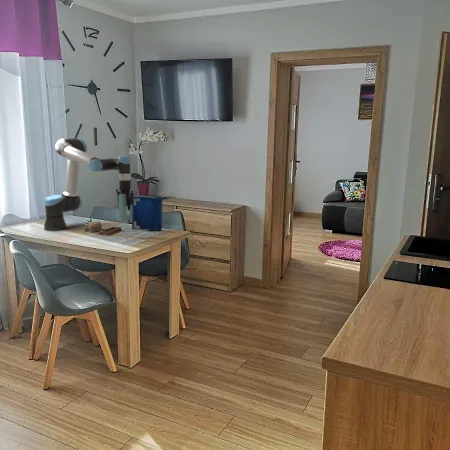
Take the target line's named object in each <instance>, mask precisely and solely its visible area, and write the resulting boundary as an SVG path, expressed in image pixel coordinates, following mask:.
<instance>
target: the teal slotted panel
mask: <svg viewBox="0 0 450 450" xmlns="http://www.w3.org/2000/svg"><path fill="white" fill-rule="evenodd" d="M129 196H130V195H129ZM126 205H127V200H126V194H119V203H118V218H119V219H118V221H119V222H122V223H124V222H127V221H129V220H132V219H133V218H132V205H130V210H129V212H130V215H126Z"/></svg>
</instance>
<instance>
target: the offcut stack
mask: <svg viewBox="0 0 450 450" xmlns="http://www.w3.org/2000/svg"><path fill="white" fill-rule="evenodd" d="M101 230H104V228H103V227H102V222H101V221H94V222H89V223H85V224H84V230H83V232H84V233H94V232H98V231H101Z"/></svg>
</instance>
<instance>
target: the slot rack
mask: <svg viewBox="0 0 450 450" xmlns="http://www.w3.org/2000/svg"><path fill="white" fill-rule="evenodd" d="M125 231H126V230H125V229H122V227H120V226H110V227H108V228H105V229H104V228H103V229H101V230H98V231H97V232H96V233H95V235H97V236H107V237H111V236H114V235H117V234H120V233H122V232H125Z"/></svg>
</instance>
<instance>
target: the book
mask: <svg viewBox="0 0 450 450" xmlns="http://www.w3.org/2000/svg"><path fill="white" fill-rule="evenodd" d="M132 218H133V219H131V229H132V230H143V231H144V230H146V231H147V232H155V231H156V232H160V231H162V229H163V197H161V196H155V195H145V194H134V196H133V204H132Z"/></svg>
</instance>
